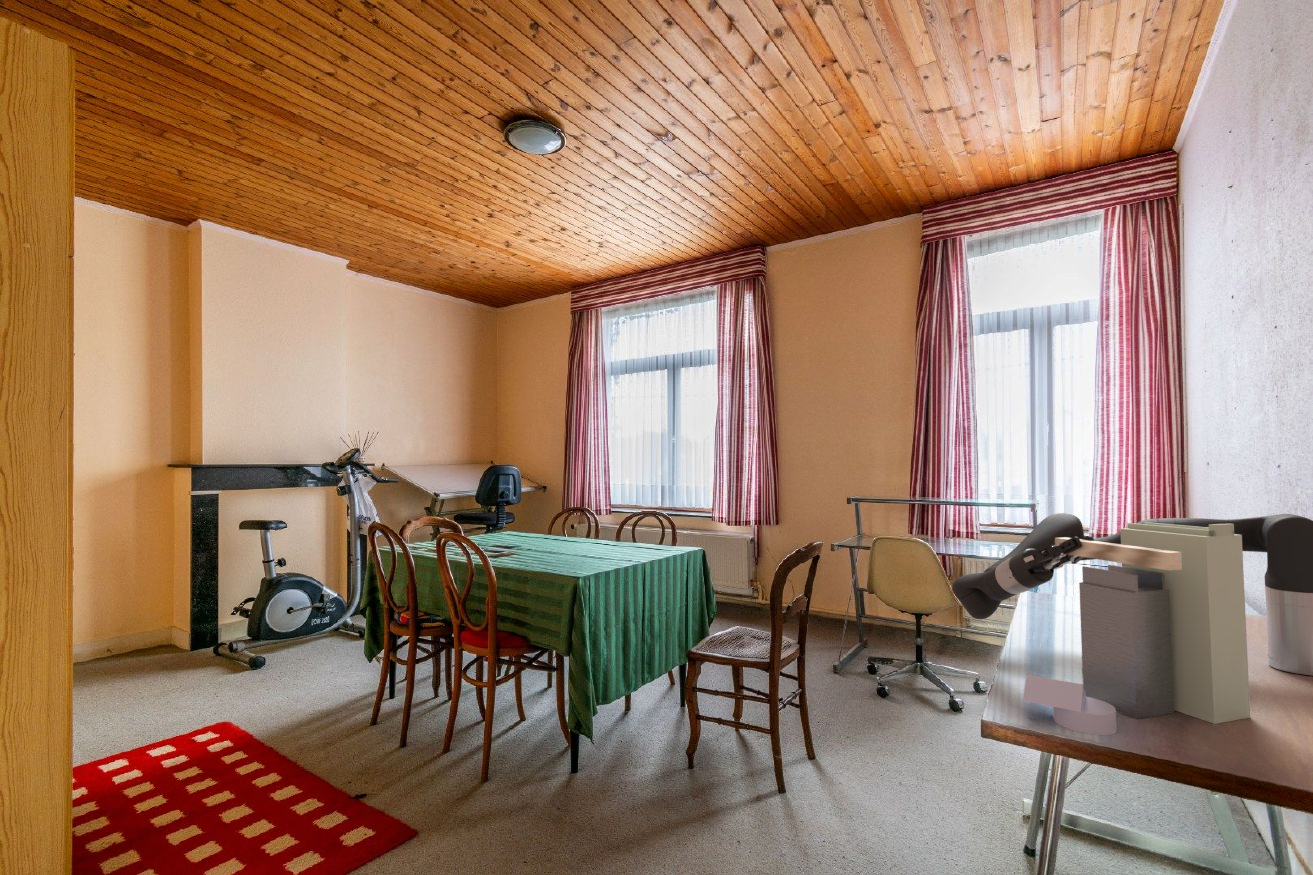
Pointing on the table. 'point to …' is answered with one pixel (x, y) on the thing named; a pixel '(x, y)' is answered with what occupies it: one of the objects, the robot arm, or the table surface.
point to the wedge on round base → (1071, 705)
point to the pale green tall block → (1203, 617)
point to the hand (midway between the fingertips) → (1085, 541)
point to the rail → (1128, 554)
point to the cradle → (1127, 640)
